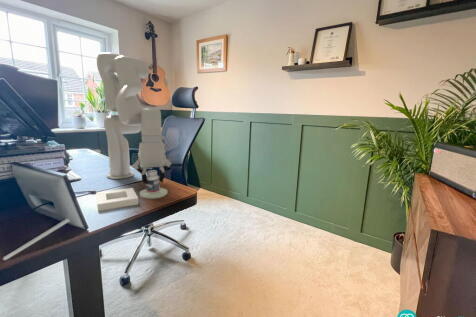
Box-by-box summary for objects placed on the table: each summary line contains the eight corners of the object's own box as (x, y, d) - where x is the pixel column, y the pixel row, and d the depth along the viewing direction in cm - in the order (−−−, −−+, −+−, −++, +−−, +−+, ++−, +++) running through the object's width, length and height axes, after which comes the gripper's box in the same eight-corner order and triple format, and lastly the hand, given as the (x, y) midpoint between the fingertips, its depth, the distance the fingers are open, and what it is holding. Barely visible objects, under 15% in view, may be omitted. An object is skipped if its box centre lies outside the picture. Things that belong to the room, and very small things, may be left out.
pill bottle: (144, 192, 96) (142, 171, 94) (154, 188, 100) (152, 169, 99) (152, 194, 93) (150, 173, 91) (162, 190, 98) (161, 170, 96)
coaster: (137, 192, 99) (137, 189, 98) (163, 188, 104) (163, 186, 104) (142, 200, 90) (142, 198, 89) (170, 196, 95) (170, 193, 95)
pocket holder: (96, 198, 90) (96, 192, 89) (132, 193, 97) (132, 187, 96) (98, 211, 79) (97, 204, 79) (138, 204, 86) (138, 198, 86)
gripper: (170, 137, 100) (171, 177, 104) (127, 138, 91) (129, 182, 95) (175, 139, 94) (176, 182, 98) (129, 141, 85) (132, 187, 88)
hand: (153, 181), depth 96 cm, fingers open, 5 cm apart
